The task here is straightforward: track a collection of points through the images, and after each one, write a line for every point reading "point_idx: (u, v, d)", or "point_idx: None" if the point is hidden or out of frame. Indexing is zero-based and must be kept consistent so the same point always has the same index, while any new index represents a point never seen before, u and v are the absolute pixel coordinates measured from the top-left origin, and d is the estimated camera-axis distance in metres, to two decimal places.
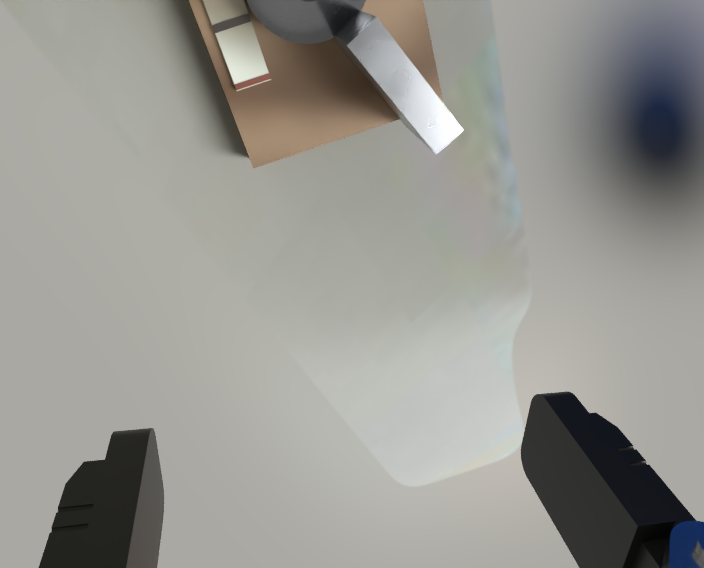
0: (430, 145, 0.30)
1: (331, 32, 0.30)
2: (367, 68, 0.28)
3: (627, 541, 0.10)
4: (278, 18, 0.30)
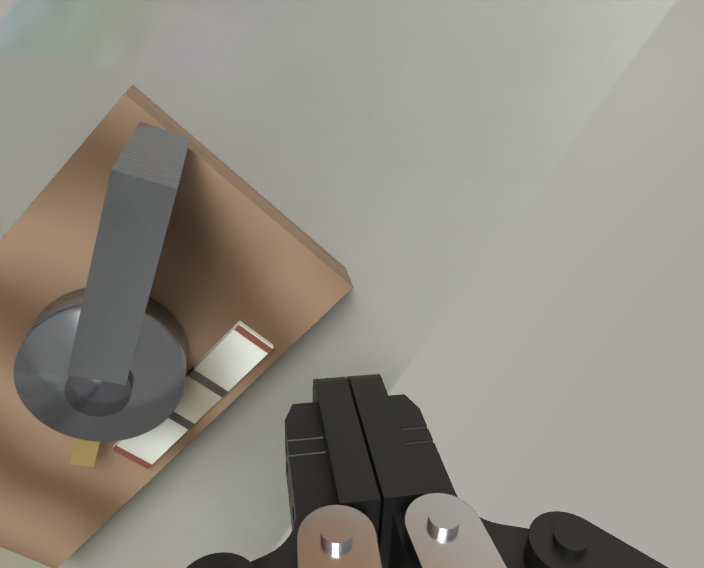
0: (170, 207, 0.17)
1: None
2: (132, 350, 0.19)
3: None
4: (167, 381, 0.24)
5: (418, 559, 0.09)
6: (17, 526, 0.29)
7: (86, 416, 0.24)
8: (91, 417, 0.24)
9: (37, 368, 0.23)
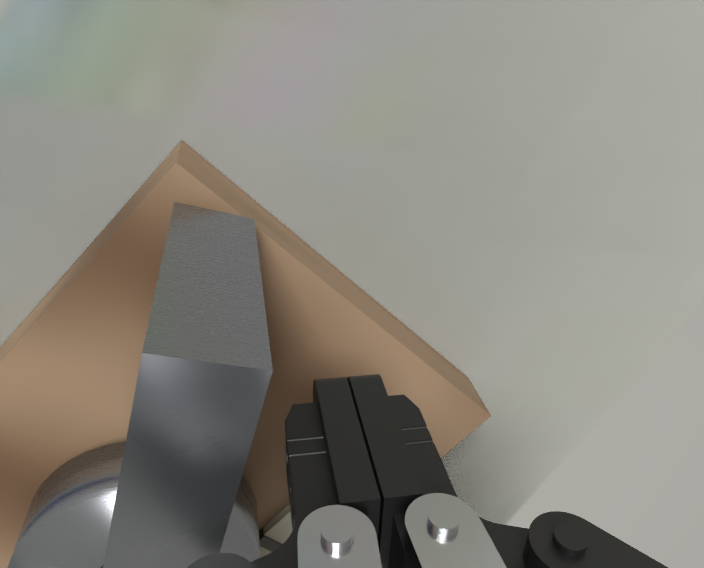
0: (258, 403, 0.09)
1: None
2: None
3: None
4: None
5: (418, 559, 0.09)
6: None
7: None
8: None
9: None
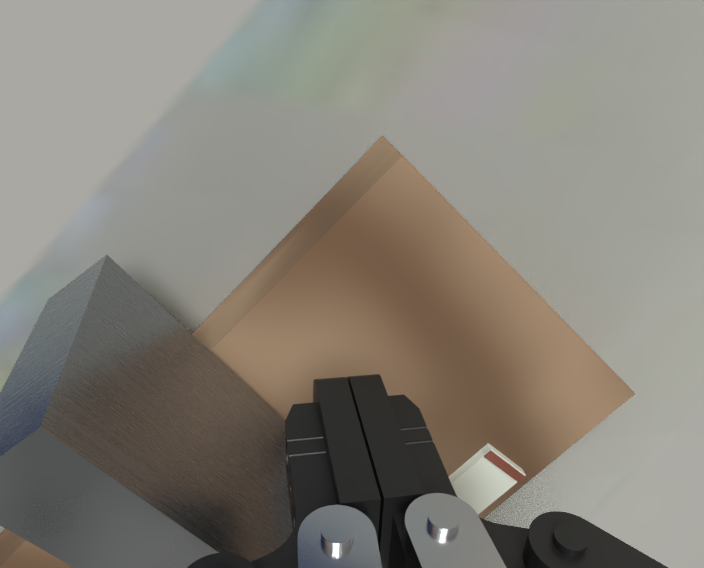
0: (69, 452, 0.09)
1: None
2: None
3: None
4: None
5: (418, 559, 0.09)
6: None
7: None
8: None
9: None
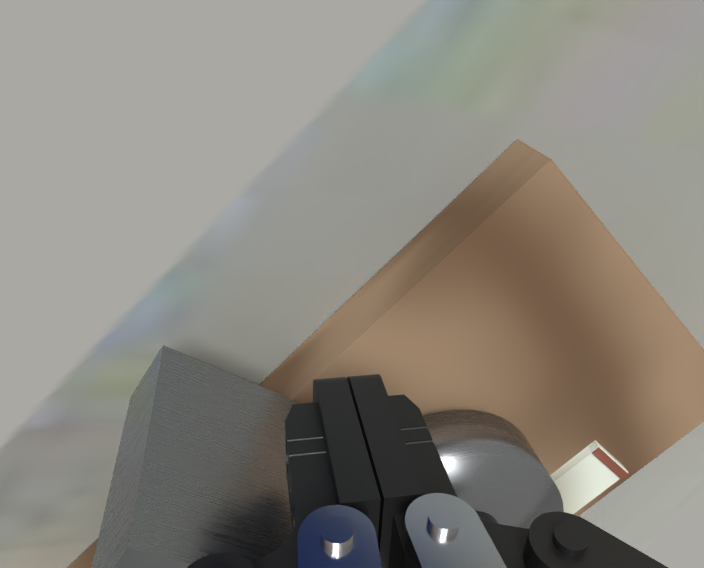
0: (160, 559, 0.10)
1: None
2: None
3: None
4: (501, 477, 0.16)
5: (418, 559, 0.09)
6: None
7: None
8: None
9: None
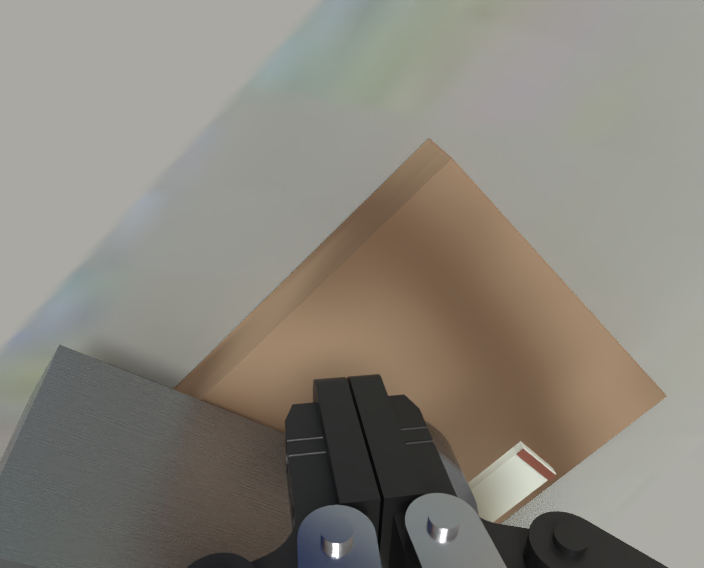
0: (3, 561, 0.10)
1: None
2: None
3: None
4: None
5: (418, 559, 0.09)
6: None
7: None
8: None
9: None
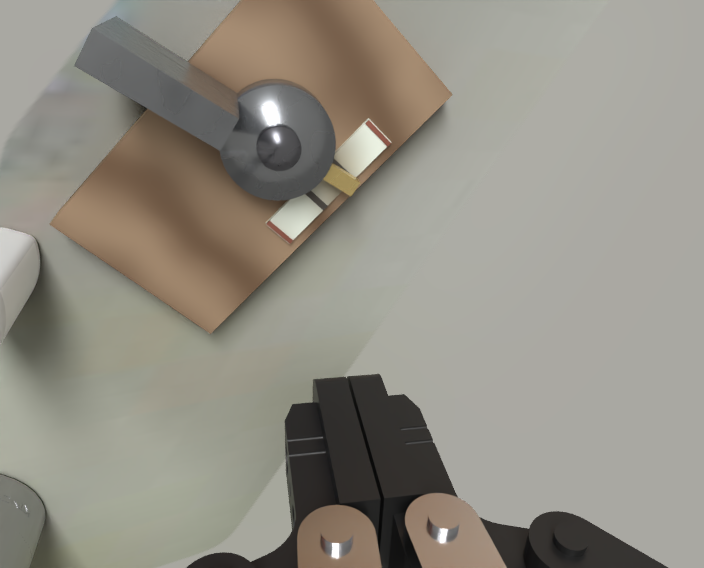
0: (105, 37, 0.25)
1: (241, 103, 0.31)
2: (211, 103, 0.27)
3: None
4: (294, 101, 0.32)
5: (418, 559, 0.09)
6: (187, 290, 0.39)
7: (305, 167, 0.34)
8: (307, 164, 0.34)
9: (256, 181, 0.33)
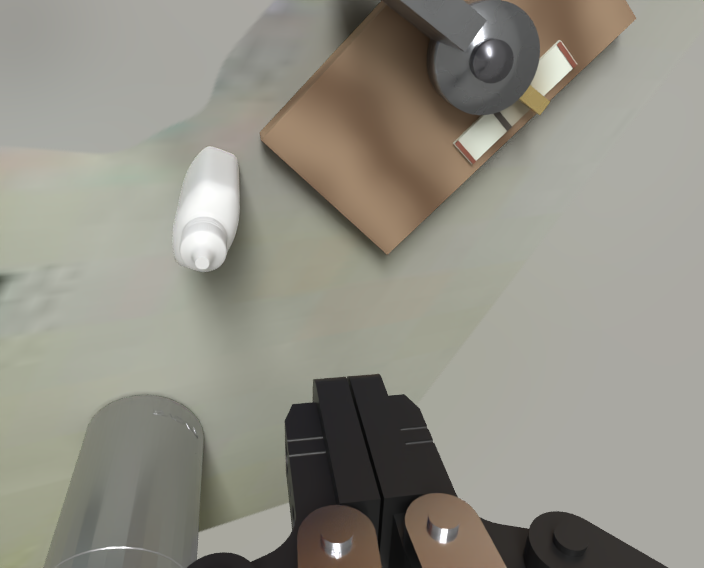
0: None
1: None
2: (466, 4, 0.29)
3: None
4: (508, 16, 0.34)
5: (418, 559, 0.09)
6: (373, 210, 0.41)
7: (509, 82, 0.36)
8: (511, 79, 0.36)
9: (463, 95, 0.36)
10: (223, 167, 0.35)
